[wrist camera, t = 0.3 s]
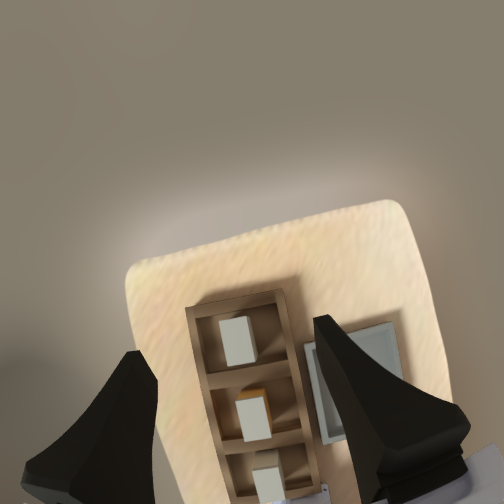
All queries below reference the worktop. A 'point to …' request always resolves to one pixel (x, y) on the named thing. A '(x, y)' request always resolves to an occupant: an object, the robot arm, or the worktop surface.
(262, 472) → the block
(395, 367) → the tray
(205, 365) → the holder
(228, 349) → the block
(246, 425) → the grey and orange block
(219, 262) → the worktop surface
